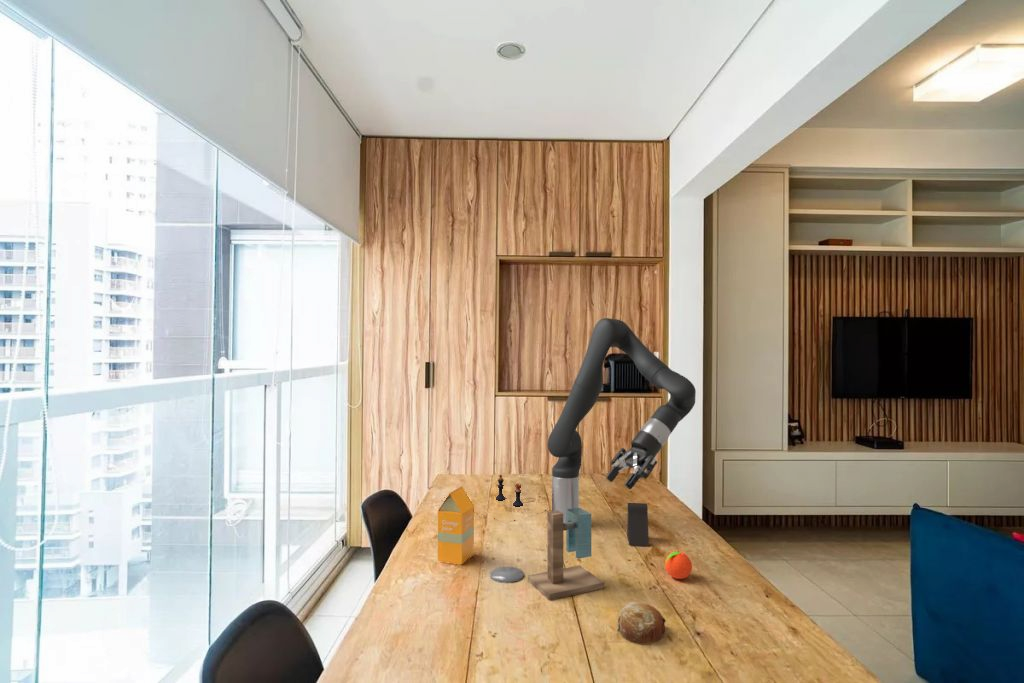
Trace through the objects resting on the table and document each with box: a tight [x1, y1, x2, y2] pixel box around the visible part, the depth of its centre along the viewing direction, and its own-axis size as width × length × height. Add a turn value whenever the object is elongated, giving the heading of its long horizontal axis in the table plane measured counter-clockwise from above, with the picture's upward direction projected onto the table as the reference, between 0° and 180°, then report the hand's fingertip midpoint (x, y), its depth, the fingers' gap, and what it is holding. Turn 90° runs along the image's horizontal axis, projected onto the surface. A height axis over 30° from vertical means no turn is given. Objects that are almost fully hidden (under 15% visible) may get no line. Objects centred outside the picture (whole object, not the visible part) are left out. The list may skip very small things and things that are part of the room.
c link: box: [565, 507, 592, 560], centre depth 142 cm, size 6×4×11 cm, turn 25°
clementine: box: [664, 550, 693, 580], centre depth 144 cm, size 8×7×7 cm
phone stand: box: [626, 502, 650, 547], centre depth 172 cm, size 9×6×12 cm, turn 172°
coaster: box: [489, 566, 525, 584], centre depth 146 cm, size 9×9×1 cm
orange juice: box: [437, 486, 475, 565], centre depth 158 cm, size 8×9×20 cm
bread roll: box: [616, 601, 667, 645], centre depth 117 cm, size 10×10×8 cm
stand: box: [527, 510, 606, 601], centre depth 140 cm, size 12×16×19 cm
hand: (617, 483), depth 148 cm, fingers open, 8 cm apart
